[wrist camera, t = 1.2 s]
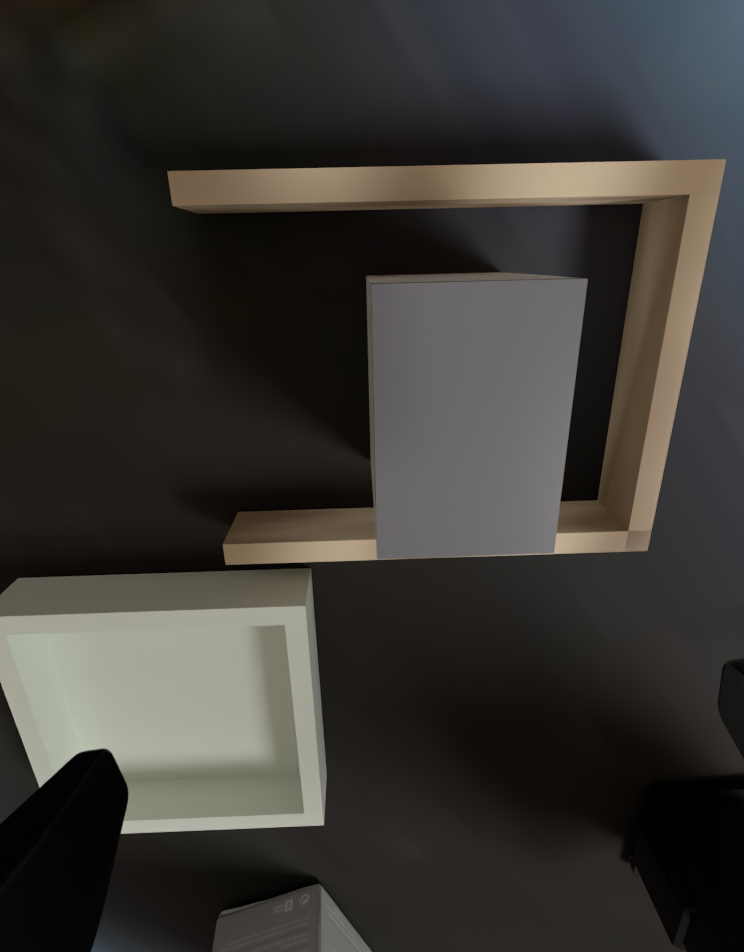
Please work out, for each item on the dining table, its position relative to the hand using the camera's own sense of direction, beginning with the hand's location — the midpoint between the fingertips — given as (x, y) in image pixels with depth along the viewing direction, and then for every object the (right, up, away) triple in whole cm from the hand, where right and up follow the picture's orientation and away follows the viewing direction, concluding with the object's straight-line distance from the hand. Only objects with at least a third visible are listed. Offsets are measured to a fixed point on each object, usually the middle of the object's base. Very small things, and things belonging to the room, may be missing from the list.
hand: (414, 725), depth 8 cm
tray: (-9, -6, +15) cm, 19 cm away
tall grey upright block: (+1, +7, +11) cm, 13 cm away
